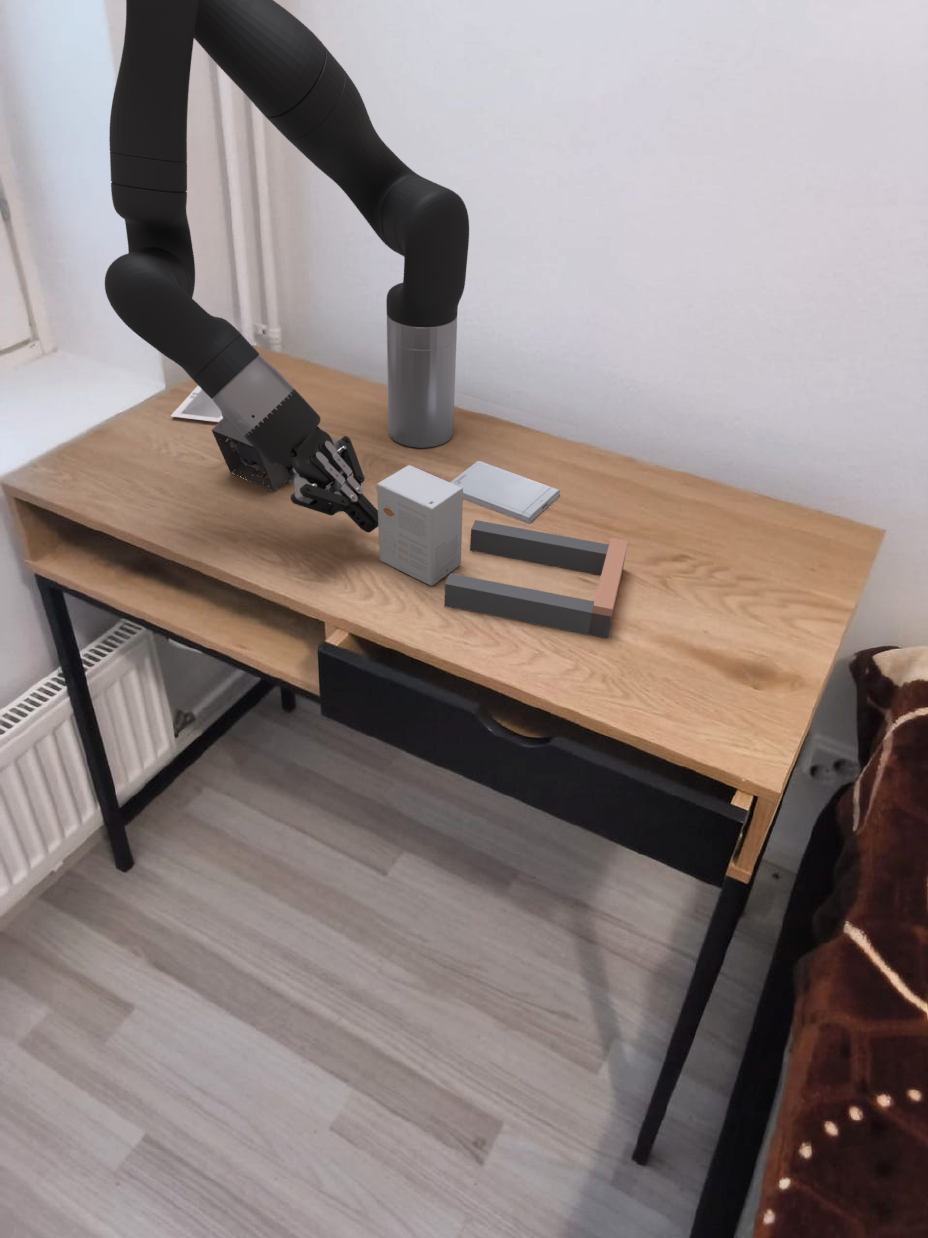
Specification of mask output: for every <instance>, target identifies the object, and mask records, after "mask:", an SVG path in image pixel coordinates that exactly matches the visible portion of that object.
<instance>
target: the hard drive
mask: <svg viewBox="0 0 928 1238" xmlns="http://www.w3.org/2000/svg"><path fill="white" fill-rule="evenodd" d="M449 482H450V483H452V484H455V485H457V486H459V487H462V488H463V500H465V501H468V502H471V503H474V504H476V505H478V506H481V507H483V508H487V509H489V510H491V511H494V512H496V513H500V514H501V515H506V516H508V517H510V518H512V519H515V520H518V521H520V522H523V523H527V524H528V525H529V524H531V523H532V521H534V520H535V519H536V518H537V517H538V516H539V515H541V513H542V512H543V511H544V510H546V508H548V506H551V504H552V503H553V502H554V501H555V500H556V499H558V497H560V496H561V495H560V494H561V490H560V489H558V488H555V487H552V486H550V485H547V484H544V483H541V482H539V481H536V480H533V479H530V478H528V477H525V476H522V475H521V474H517V473H514V472H511V471H509V470H505V469H503V468H501V467H497V466H494V465H491V464H489V463H487V462H483V461H481V460H477V461H476V462H474V463H473V464H472V465H471V466H469V467H468V468H466V469H465V470H464V471H463V472H462V473H460V474H459V475H458V476H457V477H455V478H454V479H452V480H451V481H449Z"/></svg>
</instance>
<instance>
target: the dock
mask: <svg viewBox="0 0 928 1238" xmlns="http://www.w3.org/2000/svg"><path fill="white" fill-rule="evenodd" d="M628 544H629V540H626V539H620V538H616V537H615V538H614V537H610V539H609V543H608V544H607V543H603V542H597V541H591V540H588V539H587V540H586V539H581V538H576V537H570V536H565V535H560V534H559V535H558V534H553V533H548V532H543V531H536V530H532V529H525V528H520V527H515V526H511V525H510V526H509V525H505V524H498V523H494V522H489V521H484V520H483V521H482V520H477V519H475V520H474V523H473V524H472V527H471V528H470V544H469V551H473V552H479V553H484V554H489V555H493V556H498V557H499V556H500V557H505V558H510V559H515V560H520V561H527V562H531V563H536V564H543V565H547V566H552V567H558V568H561V569H562V568H563V569H568V570H573V571H578V572H584V573H590V574H595V575H599V576H600V578H599V583H598V586H597V590H596V594H595V598H594V600H588V599H584V598H579V597H573V596H568V595H564V594H558V593H553V592H548V591H544V590H538V589H533V588H528V587H523V586H517V585H512V584H507V583H501V582H497V581H491V580H486V579H482V578H477V577H473V576H466V575H463V574H461V575H460V574H456V573H452V572H450V573H449V574H448V577H447V579H446V581H445V583H444V600H443V601H444V602H443V603H444V606H445V607H450V608H456V609H460V610H466V611H469V612H475V613H479V614H483V615H484V614H485V615H489V616H495V617H498V618H503V619H504V618H505V619H509V620H514V621H520V622H525V623H530V624H534V625H539V626H545V627H550V628H554V629H558V630H564V631H568V632H574V633H579V634H584V635H588V636H592V637H593V636H594V637H598V638H603V639H608V636H609V632H610V627H611V624H612V618H613V615H614V614H613V613H614V610H615V606H616V600H617V597H618V592H619V588H620V585H621V584H620V583H621V579H622V576H623V570H624V566H625V561H626V555H627V548H628Z"/></svg>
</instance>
